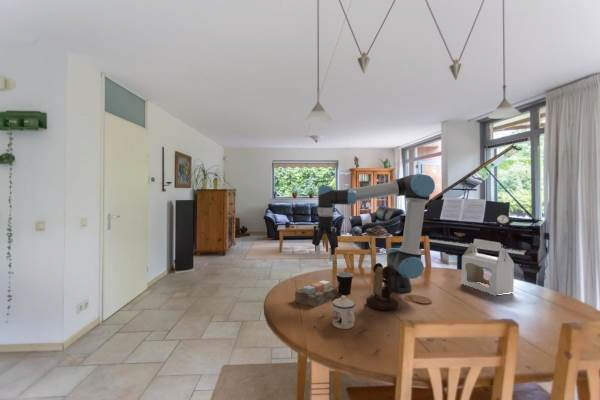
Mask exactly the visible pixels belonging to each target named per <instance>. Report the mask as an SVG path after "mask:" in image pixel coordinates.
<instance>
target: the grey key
mask: <svg viewBox="0 0 600 400" xmlns="http://www.w3.org/2000/svg"><path fill="white" fill-rule="evenodd" d="M302 289H303V293H306V294H309V295H310V294H313V293H315V287H313V286H311V284H310V285H305V286H303V287H302Z"/></svg>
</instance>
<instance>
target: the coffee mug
mask: <svg viewBox="0 0 600 400" xmlns="http://www.w3.org/2000/svg"><path fill="white" fill-rule="evenodd" d="M353 276H354V275H353V273H350V272H338V273H336V283H337V288H338V289H337V294H339V295H341V296H343V295H344V296H350V295H351V291H352V283H353Z"/></svg>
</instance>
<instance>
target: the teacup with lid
mask: <svg viewBox="0 0 600 400" xmlns="http://www.w3.org/2000/svg"><path fill="white" fill-rule="evenodd" d="M331 304H332V325H333V326H334V327H336V328H337V329H340V330H341V329H342V330H348V329H351V328H353V327H354V325H355V321H356V319H355V318H356V316H355V306H356V304H355V302H354V301H353V300H352V299H349V298H347V295H341V296H340V297H339V298H335V299H333V300H332V303H331Z"/></svg>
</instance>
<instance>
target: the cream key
mask: <svg viewBox="0 0 600 400" xmlns="http://www.w3.org/2000/svg"><path fill="white" fill-rule="evenodd" d="M317 283H319V284H323V289H326V288H329V287H330V286H331V281H327V280H320V281H318V282H317Z"/></svg>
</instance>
